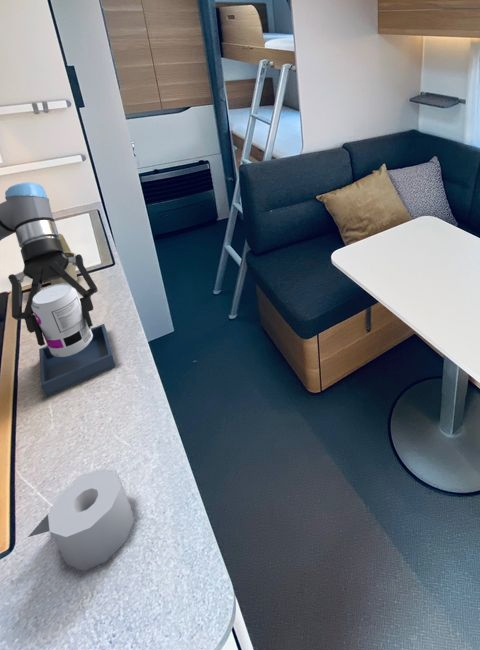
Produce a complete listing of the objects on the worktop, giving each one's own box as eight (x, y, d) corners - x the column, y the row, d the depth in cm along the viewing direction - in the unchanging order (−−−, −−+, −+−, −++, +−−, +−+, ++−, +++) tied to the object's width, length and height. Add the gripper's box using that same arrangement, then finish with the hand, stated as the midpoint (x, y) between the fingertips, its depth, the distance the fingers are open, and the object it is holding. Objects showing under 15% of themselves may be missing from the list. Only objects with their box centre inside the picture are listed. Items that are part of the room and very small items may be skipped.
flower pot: (65, 294, 122) (56, 270, 119) (38, 291, 124) (28, 267, 120) (90, 276, 131) (82, 252, 127) (65, 273, 132) (57, 250, 129)
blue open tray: (44, 360, 99) (39, 348, 97) (107, 334, 106) (104, 323, 105) (46, 397, 89) (40, 385, 88) (116, 366, 97) (112, 354, 95)
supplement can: (47, 364, 91) (23, 310, 85) (56, 339, 98) (35, 287, 92) (90, 351, 94) (70, 299, 88) (96, 328, 101) (77, 278, 95)
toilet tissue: (45, 527, 66) (27, 494, 63) (137, 492, 71) (125, 459, 68) (26, 595, 59) (4, 561, 55) (130, 551, 63) (116, 517, 60)
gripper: (94, 234, 106) (121, 316, 100) (-14, 264, 94) (10, 360, 88) (90, 223, 100) (119, 310, 94) (-25, 254, 88) (0, 356, 82)
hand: (66, 334), depth 91 cm, fingers closed on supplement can, 8 cm apart
